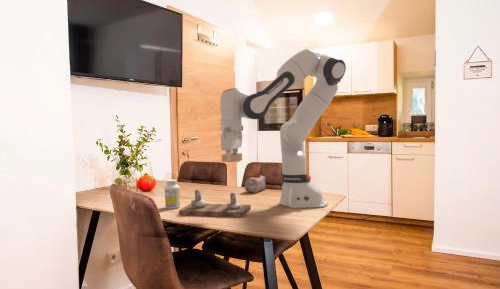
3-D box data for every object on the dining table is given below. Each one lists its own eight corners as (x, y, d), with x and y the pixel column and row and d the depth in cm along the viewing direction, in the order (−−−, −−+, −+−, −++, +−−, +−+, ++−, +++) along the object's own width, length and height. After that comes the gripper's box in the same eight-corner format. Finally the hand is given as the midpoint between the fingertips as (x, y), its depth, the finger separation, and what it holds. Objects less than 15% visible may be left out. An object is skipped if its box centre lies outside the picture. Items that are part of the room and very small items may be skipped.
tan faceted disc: (242, 160, 156) (241, 153, 155) (237, 161, 149) (237, 154, 149) (226, 160, 157) (226, 153, 157) (221, 161, 150) (221, 154, 150)
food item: (257, 194, 195) (256, 176, 195) (244, 193, 199) (243, 175, 198) (267, 189, 207) (266, 172, 207) (254, 189, 211) (254, 172, 210)
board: (250, 209, 160) (250, 188, 159) (243, 217, 146) (242, 194, 145) (191, 207, 166) (191, 187, 165) (179, 215, 152) (178, 192, 152)
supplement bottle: (173, 205, 172) (172, 178, 171) (182, 207, 167) (182, 179, 167) (162, 208, 166) (161, 180, 166) (171, 209, 162) (170, 181, 161)
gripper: (231, 127, 141) (232, 162, 142) (244, 126, 161) (245, 157, 162) (216, 127, 143) (217, 162, 143) (230, 127, 163) (231, 157, 163)
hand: (232, 159), depth 153 cm, fingers closed on tan faceted disc, 7 cm apart
